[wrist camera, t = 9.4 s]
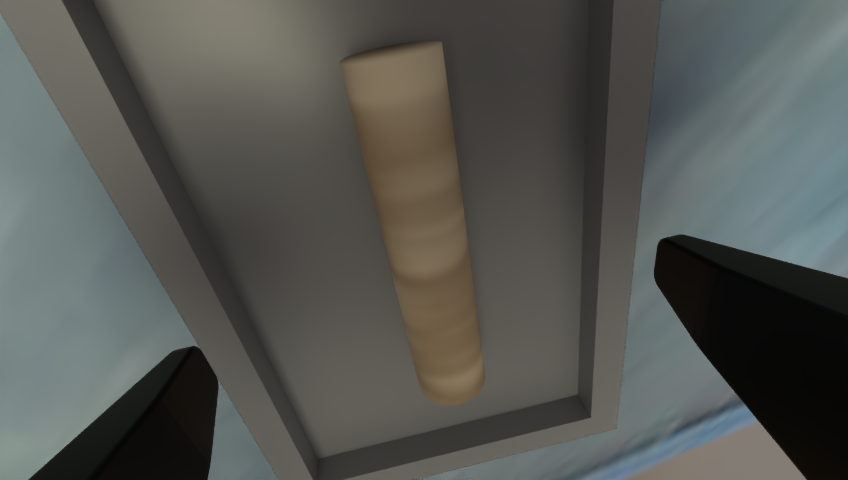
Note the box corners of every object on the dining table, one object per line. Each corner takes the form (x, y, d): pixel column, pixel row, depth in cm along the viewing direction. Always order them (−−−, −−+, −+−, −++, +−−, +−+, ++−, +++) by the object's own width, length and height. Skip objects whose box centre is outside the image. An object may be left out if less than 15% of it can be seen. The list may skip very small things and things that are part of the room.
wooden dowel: (494, 393, 16) (592, 151, 7) (437, 425, 15) (468, 200, 6) (414, 267, 19) (414, 3, 11) (364, 288, 19) (320, 23, 10)
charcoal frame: (593, 392, 20) (616, 428, 19) (300, 464, 20) (296, 509, 18) (626, -171, 10) (682, -203, 9) (20, -62, 10) (-51, -74, 8)
